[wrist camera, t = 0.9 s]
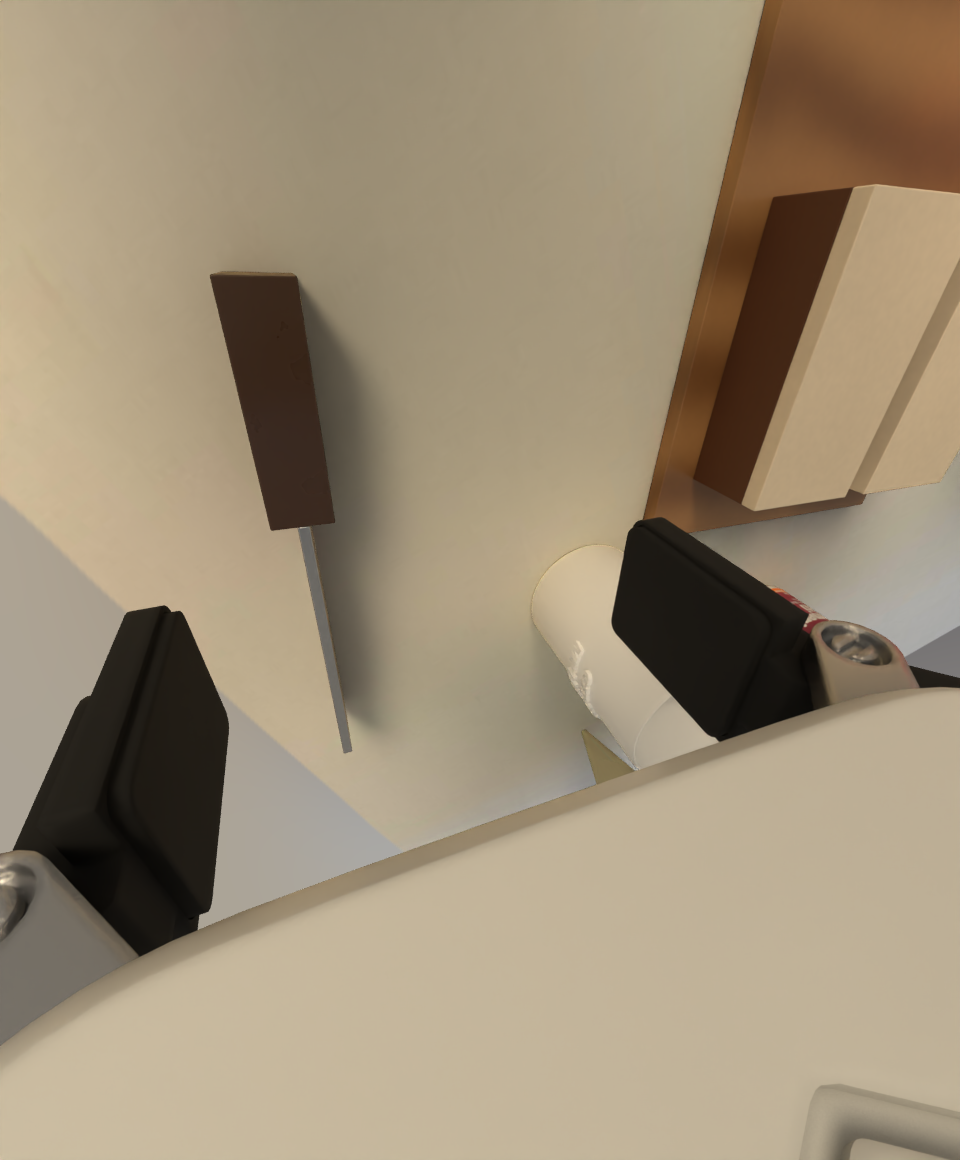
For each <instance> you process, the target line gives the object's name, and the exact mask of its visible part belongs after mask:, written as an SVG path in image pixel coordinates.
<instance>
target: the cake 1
mask: <svg viewBox="0 0 960 1160" xmlns="http://www.w3.org/2000/svg"><path fill="white" fill-rule="evenodd" d="M959 258H960V194H959V193H950V192H941V191H932V190H923V189H914V188H905V187H897V186H888V185H879V184H874V185H866V186H857V187H849V188H841V189H832V190H824V191H816V192H808V193H800V194H791V195H783V196H775V197H773V199H772V203H771V206H770V210H769V213H768V217H767V220H766V224H765V227H764V231H763V234H762V238H761V241H760V245H759V248H758V252H757V255H756V259H755V262H754V266H753V269H752V273H751V276H750V280H749V284H748V287H747V291H746V294H745V298H744V301H743V305H742V308H741V312H740V315H739V319H738V322H737V326H736V329H735V333H734V336H733V340H732V343H731V347H730V350H729V354H728V357H727V361H726V364H725V368H724V371H723V375H722V378H721V382H720V385H719V389H718V392H717V396H716V399H715V403H714V406H713V410H712V413H711V417H710V420H709V424H708V427H707V431H706V435H705V438H704V442H703V445H702V449H701V452H700V456H699V459H698V463H697V466H696V470H695V473H694V477H693V479H694V480H696V481H698V482H700V483H701V484H703V485H705V486H707V487H709V488H711V489H713V490H715V491H717V492H718V493H720V494H722V495H724V496H726V497H728V498H730V499H732V500H734V501H735V502H737V503H739V504H742V505H743V506H745V507H747V508H749V509H751V510H753V511H760V510H766V509H773V508H779V507H785V506H792V505H798V504H805V503H811V502H817V501H824V500H830V499H836V498H843V497H845V496H846V494H847V492H848V490H849V488H850V486H851V484H852V482H853V480H854V477H855V475H856V473H857V471H858V469H859V467H860V465H861V463H862V461H863V459H864V457H865V454H866V452H867V450H868V448H869V446H870V444H871V442H872V440H873V438H874V436H875V434H876V432H877V429H878V427H879V425H880V423H881V421H882V419H883V417H884V415H885V413H886V411H887V409H888V406H889V404H890V402H891V400H892V398H893V396H894V394H895V392H896V390H897V388H898V386H899V384H900V381H901V379H902V377H903V375H904V373H905V371H906V369H907V367H908V365H909V363H910V361H911V359H912V356H913V354H914V352H915V350H916V348H917V346H918V344H919V342H920V340H921V338H922V336H923V333H924V331H925V329H926V327H927V325H928V323H929V321H930V319H931V317H932V315H933V313H934V311H935V308H936V306H937V304H938V302H939V300H940V298H941V296H942V294H943V292H944V290H945V288H946V285H947V283H948V281H949V279H950V277H951V275H952V273H953V271H954V269H955V267H956V265H957V263H958V260H959Z"/></svg>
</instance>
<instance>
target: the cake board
mask: <svg viewBox="0 0 960 1160" xmlns="http://www.w3.org/2000/svg"><path fill="white" fill-rule="evenodd" d="M874 184H879V185H888V186H897V187H905V188H914V189H923V190H932V191H941V192H950V193H959V194H960V0H766V1H765V6H764V10H763V14H762V18H761V22H760V27H759V31H758V35H757V39H756V44H755V48H754V52H753V56H752V61H751V65H750V69H749V73H748V78H747V82H746V86H745V90H744V94H743V99H742V103H741V107H740V111H739V116H738V120H737V124H736V128H735V133H734V137H733V141H732V145H731V149H730V154H729V158H728V162H727V166H726V171H725V175H724V179H723V183H722V188H721V192H720V196H719V200H718V205H717V209H716V213H715V217H714V221H713V226H712V230H711V234H710V238H709V243H708V247H707V251H706V255H705V260H704V264H703V268H702V272H701V276H700V281H699V285H698V289H697V293H696V298H695V302H694V306H693V310H692V315H691V319H690V323H689V327H688V332H687V336H686V340H685V344H684V348H683V353H682V357H681V361H680V365H679V370H678V374H677V378H676V382H675V387H674V391H673V395H672V399H671V403H670V408H669V412H668V416H667V420H666V425H665V429H664V433H663V437H662V442H661V446H660V450H659V454H658V458H657V463H656V467H655V471H654V475H653V480H652V484H651V488H650V492H649V497H648V501H647V505H646V509H645V514H644V518H643V520H646V519H651V518H657V517H663V518H665V519H667V520H668V521H670V522H671V523H673V524H674V525H676V526H677V527H679V528H680V529H682V530H683V531H685V532H686V533H691V532H697V531H703V530H709V529H715V528H721V527H727V526H733V525H739V524H745V523H751V522H757V521H763V520H769V519H775V518H781V517H787V516H793V515H800V514H806V513H812V512H818V511H824V510H830V509H836V508H842V507H848V506H854V505H860V504H862V503H863V501H864V499H865V497H866V495H867V494H861V493H859V492H856V491H854V490H851V489H849V490H848V492H847V494H846V496H845V497H843V498H836V499H830V500H824V501H817V502H811V503H805V504H798V505H792V506H785V507H779V508H773V509H766V510H760V511H753V510H751V509H749V508H747V507H745V506H743V505H742V504H739V503H737V502H735V501H734V500H732V499H730V498H728V497H726V496H724V495H722V494H720V493H718V492H717V491H715V490H713V489H711V488H709V487H707V486H705V485H703V484H701V483H700V482H698V481H696V480H694V479H693V477H694V473H695V470H696V466H697V463H698V459H699V456H700V452H701V449H702V445H703V442H704V438H705V435H706V431H707V427H708V424H709V420H710V417H711V413H712V410H713V406H714V403H715V399H716V396H717V392H718V389H719V385H720V382H721V378H722V375H723V371H724V368H725V364H726V361H727V357H728V354H729V350H730V347H731V343H732V340H733V336H734V333H735V329H736V326H737V322H738V319H739V315H740V312H741V308H742V305H743V301H744V298H745V294H746V291H747V287H748V284H749V280H750V276H751V273H752V269H753V266H754V262H755V259H756V255H757V252H758V248H759V245H760V241H761V238H762V234H763V231H764V227H765V224H766V220H767V217H768V213H769V210H770V206H771V203H772V199H773V197H775V196H783V195H791V194H800V193H808V192H816V191H824V190H832V189H841V188H849V187H857V186H866V185H874Z"/></svg>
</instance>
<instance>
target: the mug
mask: <svg viewBox="0 0 960 1160" xmlns="http://www.w3.org/2000/svg"><path fill="white" fill-rule="evenodd" d="M623 556H624V553H623V552H622V551H621V550H619V549H617V548H615V547H612V546H607V545H590V546H584V547H582V548H579V549H576V550H574V551H572V552H570V553H568V554H566V555H564V556H563V557H562V558H560V559H559V560H558V561H556V562H555V563H554V564H553V565H552V566H551V567H550V568H549V569H548V570H547V571H546V572H545V574H544V575H543V576H542V578H541V579H540V581H539V583H538V585H537V587H536V588H535V591H534V594H533V597H532V605H531V612H532V619H533V622H534V624H535V626H536V628H537V629H538V630H539V632H540V633H541V635H542V636H543V638H544V639H545V640H546V642H547V643H548V645H549V646H550V647H551V649H552V650H553V652H554V653H555V655H556V656H557V657H558V659H559V660H560V662H561V663H562V664H563V666H564V667H565V669H566V670H567V672H568V677H569V678H570V679H569V680H570V682H571V684H572V686H573V687H574V688H575V690H576V691H577V693H578V694H579V696H580V697H582V700H583V701H584V703H585V704H586V706H587V707H588V709H589V710H590V711H591V713H592V714H593V715H594V716H595V717H596V718H598V719H600V720H602V721H603V723H604V724H605V725H606V727H607V728H608V730H609V731H610V732H611V734H612V735H613V737H614V738H615V740H616V741H617V742H618V744H619V745H620V747H621V748H622V749H623V751H624V752H625V754H626V755H627V757H628V758H629V759H630V761H631V762H632V763H633V765H634V766H636V767H637V768H639V769H643V768H646V767H649V766H651V765H654V764H657V763H660V762H663V761H666V760H669V759H672V758H675V757H677V756H680V755H683V754H686V753H689V752H692V751H695V750H698V749H701V748H704V747H707V746H710V745H713V744H716V743H718V742H719V741H718V740H717V739H716V738H715V737H711V736H709V735H708V734H706V733H705V732H704V731H703V730H702V728H701V727H700V726H699V725H698V724H697V723H696V722H695V721H694V720H693V719H692V717H691V716H690V715H689V714H688V713H687V712H686V711H685V710H684V709H683V707H682V706H681V705H680V704H679V703H678V702H677V701H676V700H675V699H674V698H673V696H672V695H671V694H670V693H669V692H668V691H667V690H666V689H665V688H664V687H663V685H662V684H661V683H660V682H659V681H658V680H657V679H656V678H655V677H654V676H653V674H652V673H651V672H650V671H649V670H648V669H647V668H646V667H645V666H644V664H643V663H642V662H641V661H640V660H639V659H638V658H637V657H636V656H635V655H634V653H633V652H632V651H631V650H630V649H629V648H628V647H627V646H626V645H625V644H624V642H623V641H622V640H621V639H620V638H619V637H618V636H617V635H616V633H615V632H614V630H613V628H612V624H611V618H612V612H613V607H614V602H615V597H616V592H617V587H618V582H619V576H620V571H621V566H622V561H623Z"/></svg>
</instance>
